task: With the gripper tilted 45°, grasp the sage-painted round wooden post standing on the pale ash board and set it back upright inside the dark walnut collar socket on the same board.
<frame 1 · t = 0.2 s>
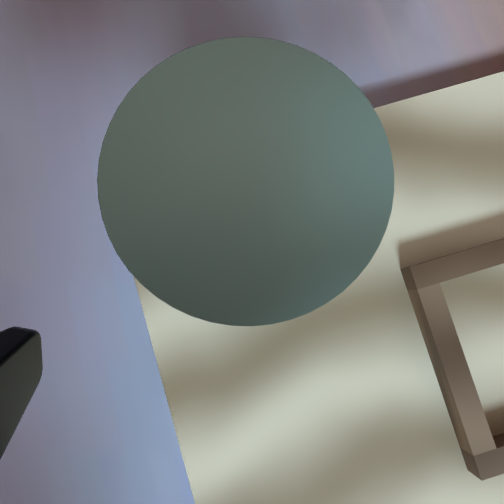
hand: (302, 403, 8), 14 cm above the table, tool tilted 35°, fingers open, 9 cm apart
post: (245, 257, 21), point 1 cm above the table, touching base board
base board: (403, 311, 22), on the table
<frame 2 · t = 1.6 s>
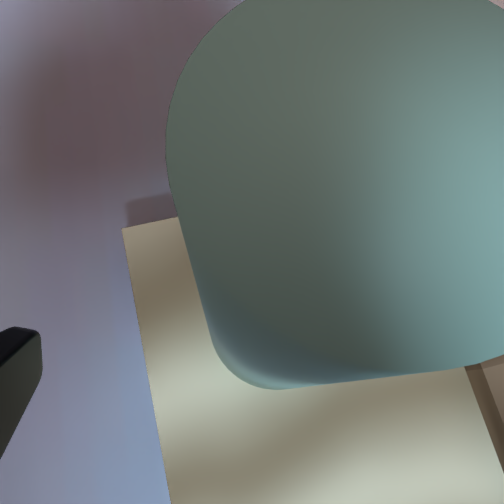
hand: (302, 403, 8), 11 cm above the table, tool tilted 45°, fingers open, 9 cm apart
post: (275, 321, 18), point 1 cm above the table, touching base board
base board: (456, 397, 19), on the table
when the fingers open (9 cm above the table, at t = 7.4 s): post stays where it is, resting on base board.
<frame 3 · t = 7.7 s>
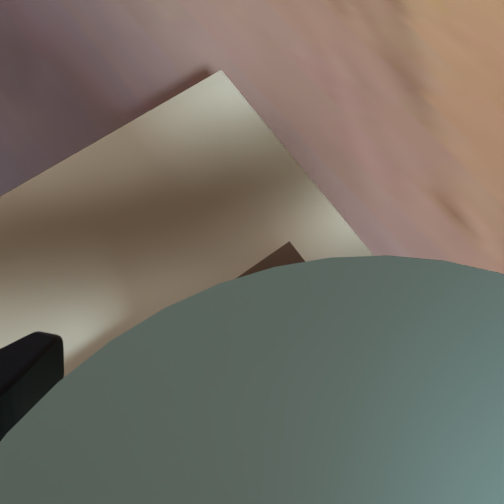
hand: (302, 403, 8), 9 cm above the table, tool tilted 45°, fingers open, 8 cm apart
post: (258, 445, 14), point 2 cm above the table, touching base board
base board: (103, 459, 15), on the table
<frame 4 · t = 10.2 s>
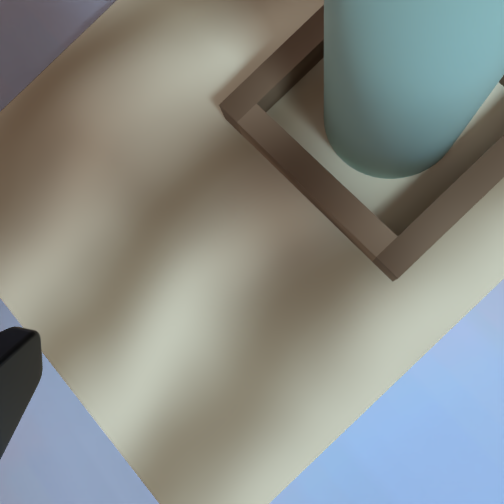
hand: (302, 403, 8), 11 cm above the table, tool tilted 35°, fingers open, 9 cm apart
post: (390, 114, 17), point 2 cm above the table, touching base board
base board: (264, 165, 19), on the table
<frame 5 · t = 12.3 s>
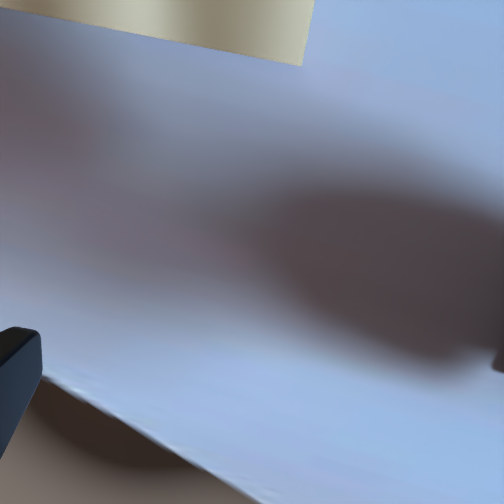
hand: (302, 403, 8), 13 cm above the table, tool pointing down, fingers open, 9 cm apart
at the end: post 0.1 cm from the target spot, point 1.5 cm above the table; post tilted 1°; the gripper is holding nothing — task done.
